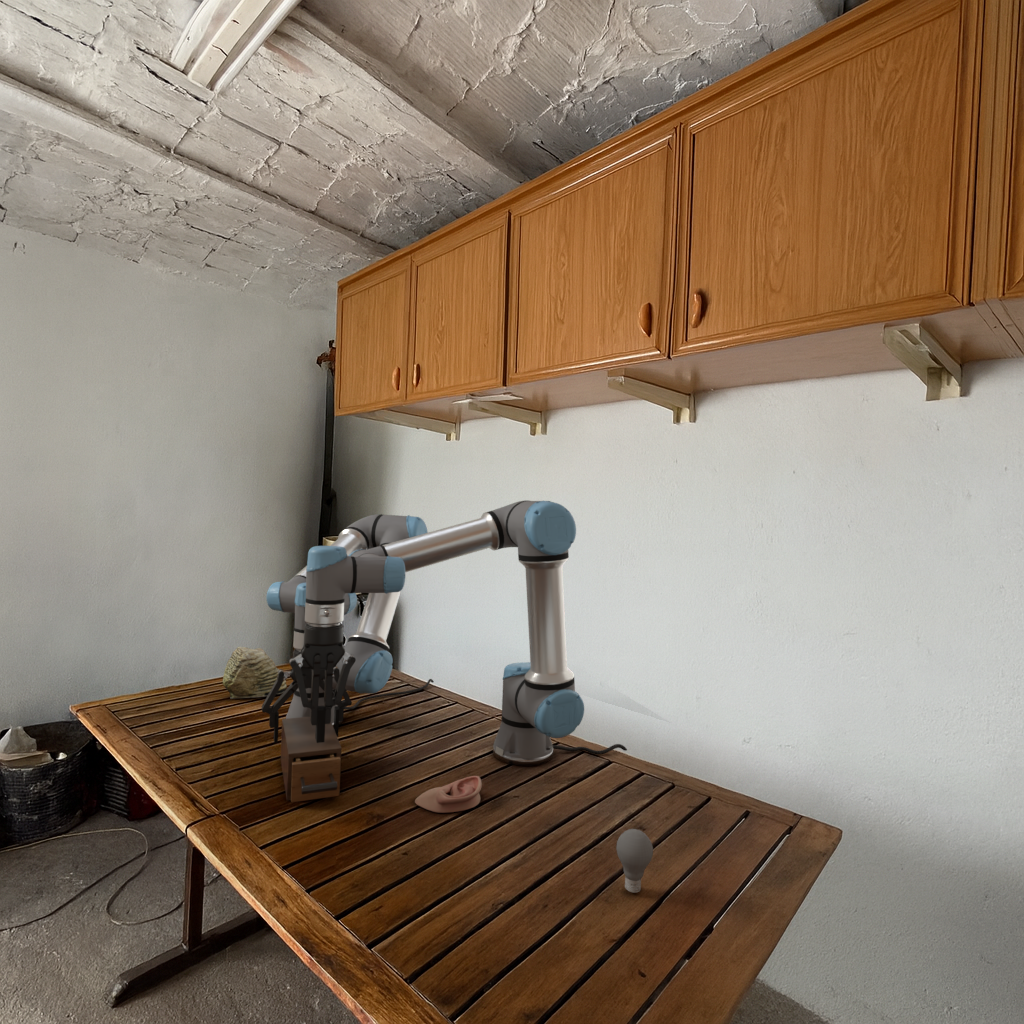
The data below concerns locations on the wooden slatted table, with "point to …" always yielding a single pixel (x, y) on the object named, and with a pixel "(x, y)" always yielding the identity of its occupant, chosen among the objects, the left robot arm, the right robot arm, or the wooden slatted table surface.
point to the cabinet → (304, 745)
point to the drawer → (315, 777)
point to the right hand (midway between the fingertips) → (319, 739)
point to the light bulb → (634, 857)
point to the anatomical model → (452, 796)
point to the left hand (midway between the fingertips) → (306, 738)
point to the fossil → (250, 674)
